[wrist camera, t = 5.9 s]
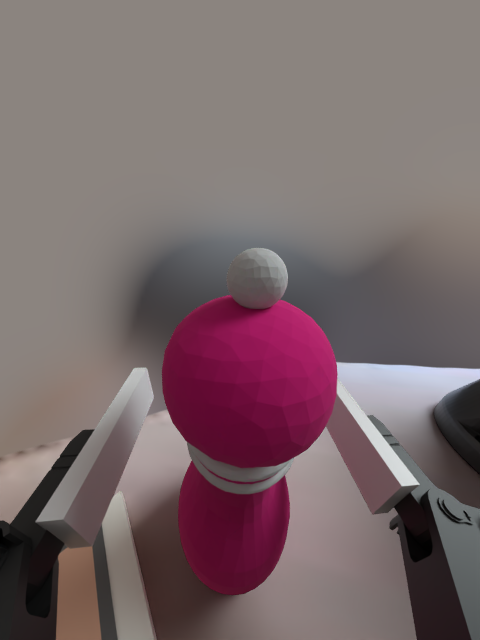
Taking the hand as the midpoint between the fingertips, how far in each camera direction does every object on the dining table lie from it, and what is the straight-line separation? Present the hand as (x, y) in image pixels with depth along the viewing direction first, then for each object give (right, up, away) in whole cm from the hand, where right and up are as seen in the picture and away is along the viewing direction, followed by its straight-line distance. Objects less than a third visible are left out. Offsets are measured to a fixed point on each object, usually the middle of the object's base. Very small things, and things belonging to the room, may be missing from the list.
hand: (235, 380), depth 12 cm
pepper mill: (0, -12, +2) cm, 12 cm away
